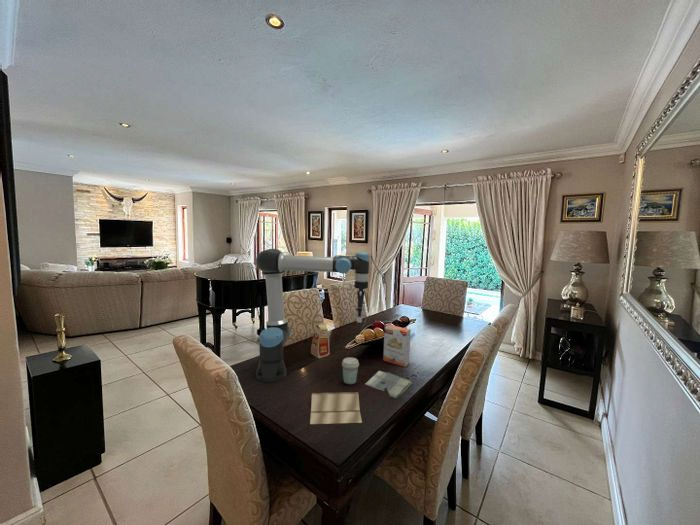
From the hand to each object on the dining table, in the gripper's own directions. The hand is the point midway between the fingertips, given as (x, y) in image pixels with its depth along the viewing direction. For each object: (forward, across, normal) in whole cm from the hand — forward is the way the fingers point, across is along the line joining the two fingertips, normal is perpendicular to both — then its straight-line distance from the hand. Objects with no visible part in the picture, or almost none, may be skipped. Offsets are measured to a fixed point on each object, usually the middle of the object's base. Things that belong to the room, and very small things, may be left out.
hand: (359, 318), depth 160 cm
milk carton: (+28, +13, +24) cm, 39 cm away
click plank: (+25, -41, +8) cm, 49 cm away
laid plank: (+27, -49, +6) cm, 57 cm away
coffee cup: (+28, -20, +3) cm, 34 cm away
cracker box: (+27, +7, -22) cm, 36 cm away
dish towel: (+28, -19, -16) cm, 37 cm away
